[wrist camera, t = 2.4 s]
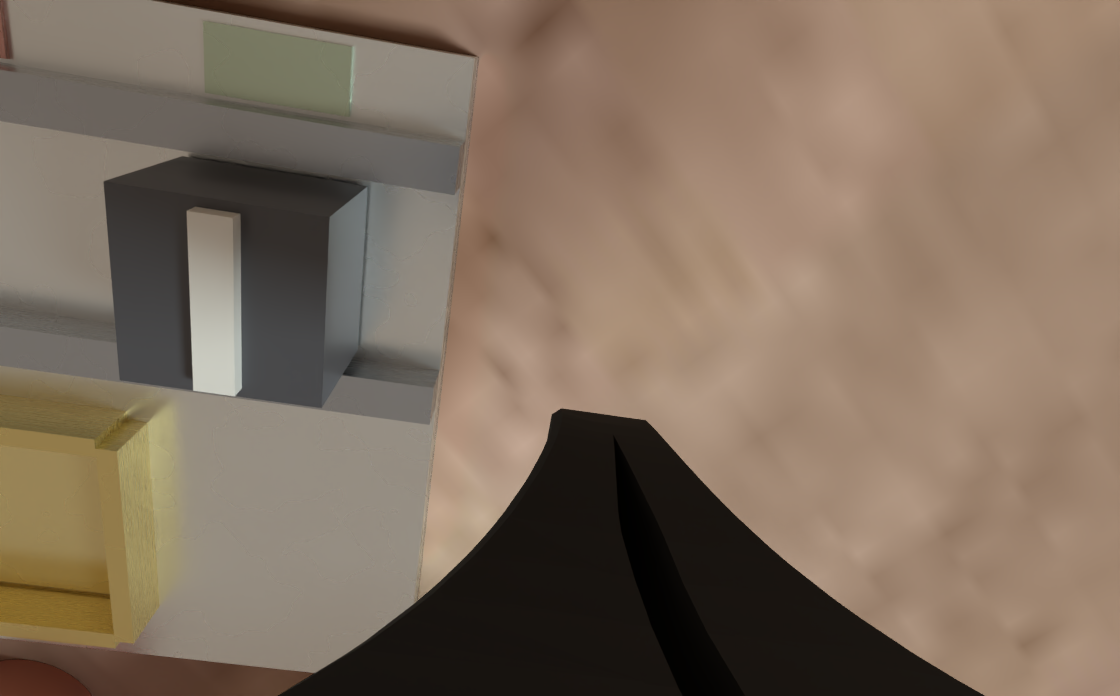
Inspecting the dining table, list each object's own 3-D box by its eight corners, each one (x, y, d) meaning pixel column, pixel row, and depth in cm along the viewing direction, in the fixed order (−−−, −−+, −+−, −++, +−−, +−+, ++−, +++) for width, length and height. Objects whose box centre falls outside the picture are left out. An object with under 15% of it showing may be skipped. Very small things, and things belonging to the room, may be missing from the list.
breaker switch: (367, 186, 16) (323, 221, 13) (357, 350, 17) (316, 415, 14) (182, 155, 16) (92, 185, 13) (188, 325, 17) (110, 388, 14)
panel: (478, 57, 16) (467, 60, 14) (410, 657, 23) (395, 722, 21) (-194, -63, 15) (-323, -81, 13) (-51, 605, 22) (-119, 668, 20)
